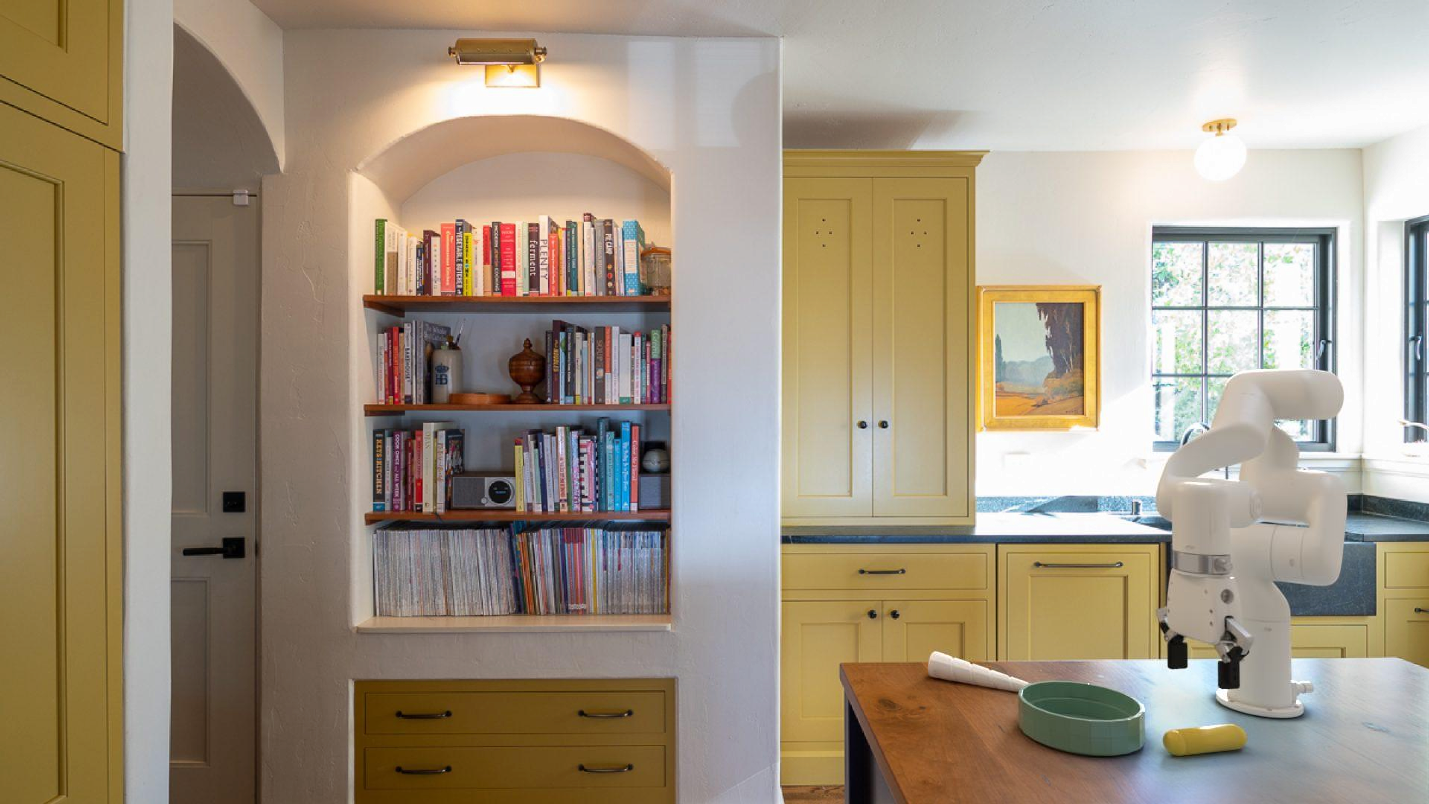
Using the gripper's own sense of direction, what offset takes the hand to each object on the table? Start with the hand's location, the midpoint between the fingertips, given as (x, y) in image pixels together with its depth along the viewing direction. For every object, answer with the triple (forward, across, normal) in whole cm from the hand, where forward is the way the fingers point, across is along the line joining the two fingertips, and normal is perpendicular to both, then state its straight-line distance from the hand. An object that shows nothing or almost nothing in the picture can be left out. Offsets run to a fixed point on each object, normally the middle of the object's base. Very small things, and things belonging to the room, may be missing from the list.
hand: (1202, 678), depth 121 cm
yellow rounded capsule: (+11, 0, -1) cm, 11 cm away
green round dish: (+11, +10, +13) cm, 20 cm away
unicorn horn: (+11, +34, +15) cm, 39 cm away
